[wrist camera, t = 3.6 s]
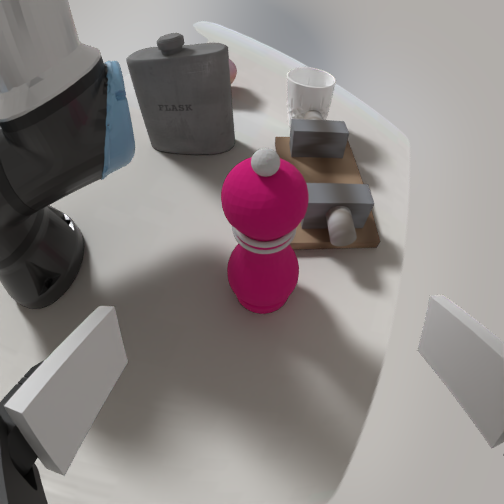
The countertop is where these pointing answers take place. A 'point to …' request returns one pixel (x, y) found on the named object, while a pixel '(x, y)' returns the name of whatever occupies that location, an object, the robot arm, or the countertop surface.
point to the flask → (184, 95)
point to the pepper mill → (264, 228)
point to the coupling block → (329, 186)
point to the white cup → (308, 92)
